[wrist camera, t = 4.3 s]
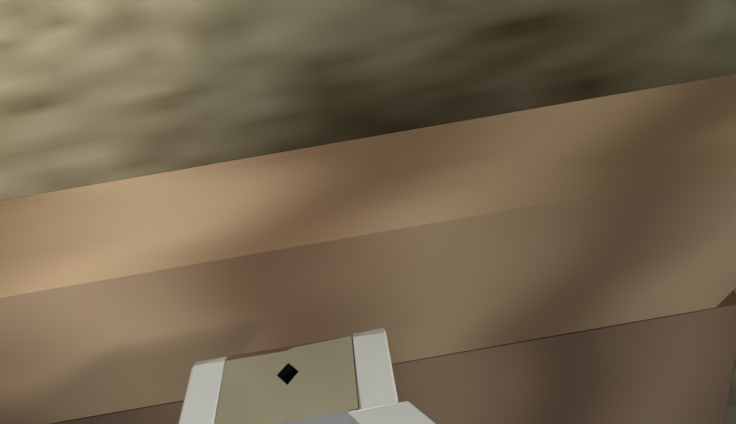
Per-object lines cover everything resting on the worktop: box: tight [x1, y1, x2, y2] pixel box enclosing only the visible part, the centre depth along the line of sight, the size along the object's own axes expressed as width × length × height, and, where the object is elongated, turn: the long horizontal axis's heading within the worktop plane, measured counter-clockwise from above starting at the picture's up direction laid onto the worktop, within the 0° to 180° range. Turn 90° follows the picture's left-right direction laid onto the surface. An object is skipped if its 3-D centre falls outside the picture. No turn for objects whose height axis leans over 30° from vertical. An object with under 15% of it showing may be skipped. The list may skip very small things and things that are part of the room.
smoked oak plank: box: [0, 74, 736, 424], centre depth 14 cm, size 20×7×2 cm
